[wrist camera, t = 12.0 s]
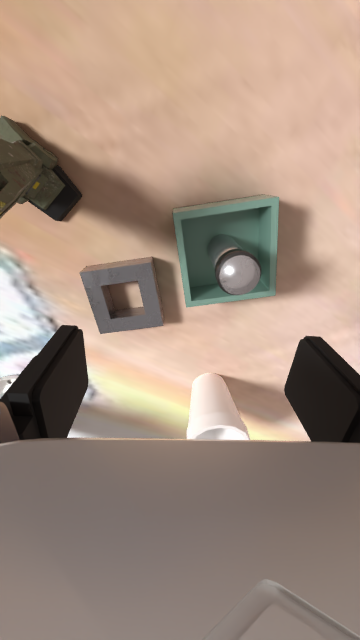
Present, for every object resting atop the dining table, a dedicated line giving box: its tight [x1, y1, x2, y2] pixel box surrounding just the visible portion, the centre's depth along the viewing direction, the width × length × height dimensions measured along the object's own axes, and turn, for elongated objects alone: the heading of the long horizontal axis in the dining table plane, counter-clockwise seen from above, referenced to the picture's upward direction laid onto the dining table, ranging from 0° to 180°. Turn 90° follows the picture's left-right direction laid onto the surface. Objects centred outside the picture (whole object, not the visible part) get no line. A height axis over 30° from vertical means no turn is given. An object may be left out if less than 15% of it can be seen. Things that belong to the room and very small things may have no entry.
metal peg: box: [208, 234, 261, 295], centre depth 31 cm, size 5×5×12 cm
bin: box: [173, 195, 279, 307], centre depth 34 cm, size 12×12×6 cm
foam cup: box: [187, 373, 250, 440], centre depth 44 cm, size 10×9×13 cm
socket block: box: [80, 257, 164, 334], centre depth 39 cm, size 10×10×3 cm
